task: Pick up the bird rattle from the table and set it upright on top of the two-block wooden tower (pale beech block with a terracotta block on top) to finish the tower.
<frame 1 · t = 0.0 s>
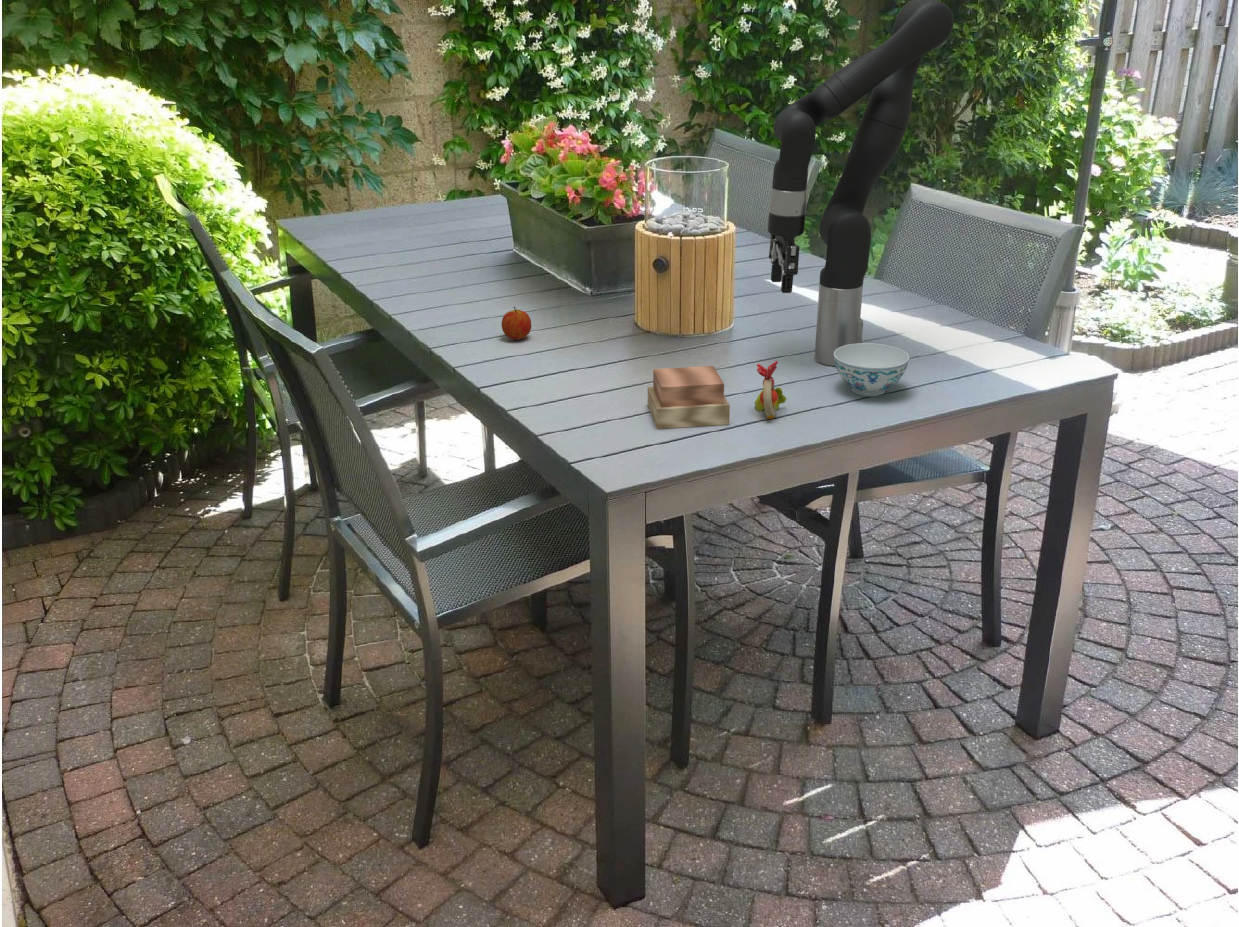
hand: (781, 287, 236), 17 cm above the table, tool pointing down, fingers open, 8 cm apart
fruit: (517, 339, 261), on the table
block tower: (687, 414, 218), on the table
bird rattle: (769, 414, 218), on the table
chinaware: (868, 391, 228), on the table
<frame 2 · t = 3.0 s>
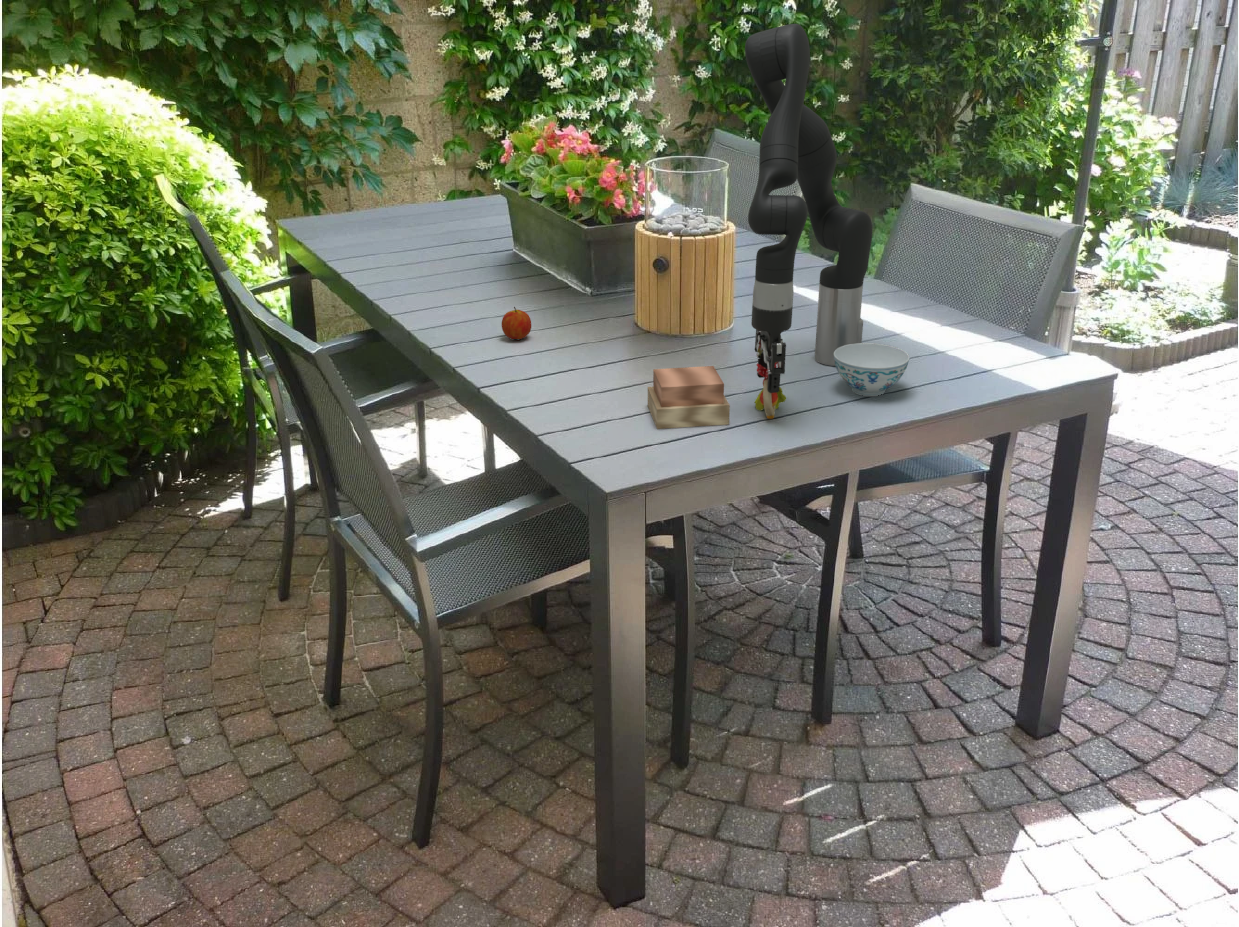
hand: (767, 384, 215), 6 cm above the table, tool pointing down, fingers open, 8 cm apart
bird rattle: (769, 414, 218), on the table, touching gripper
everything else where it was.
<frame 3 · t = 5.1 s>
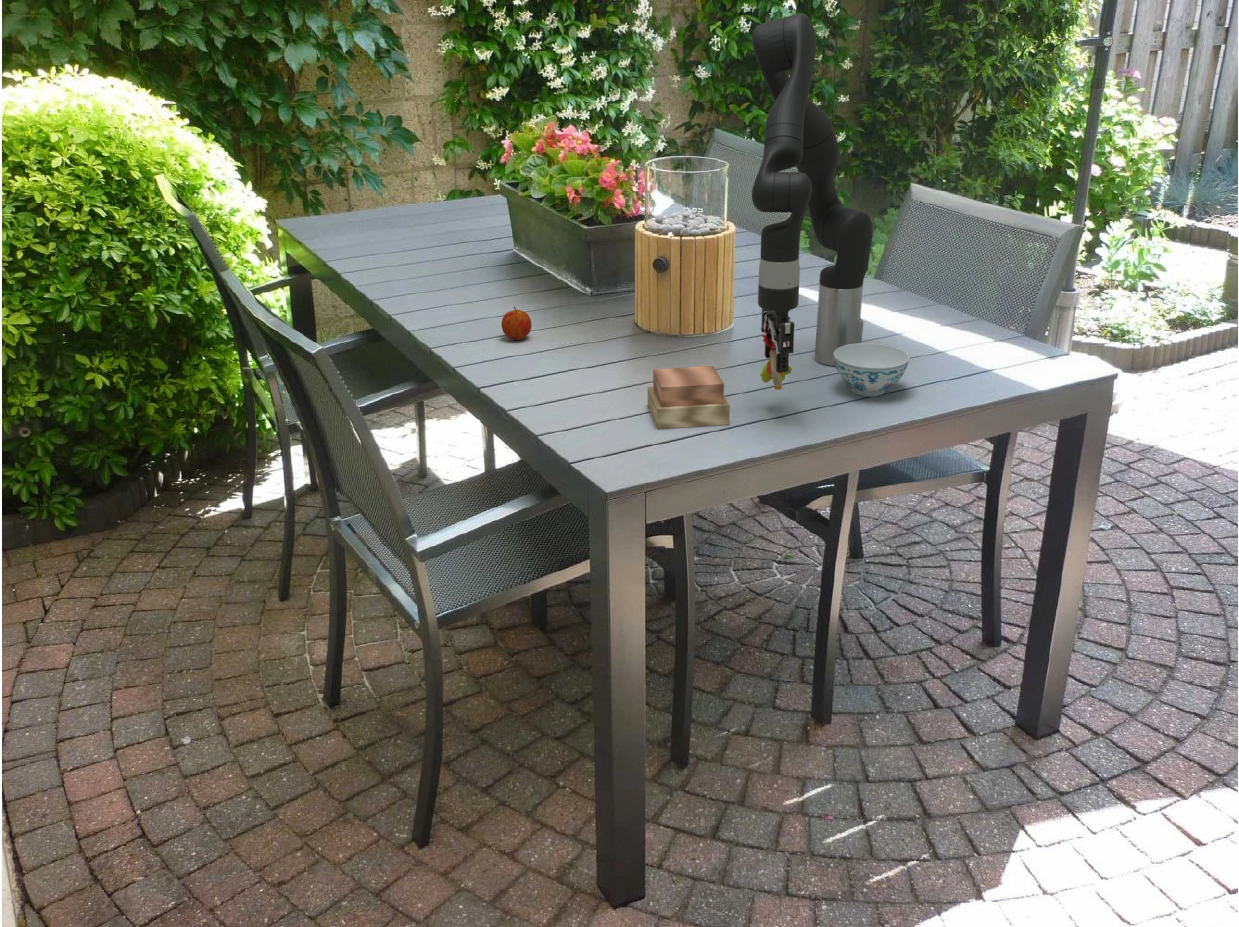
hand: (776, 364, 213), 10 cm above the table, tool pointing down, fingers closed on bird rattle, 7 cm apart
bird rattle: (776, 385, 216), point 6 cm above the table, touching gripper
everything else where it was.
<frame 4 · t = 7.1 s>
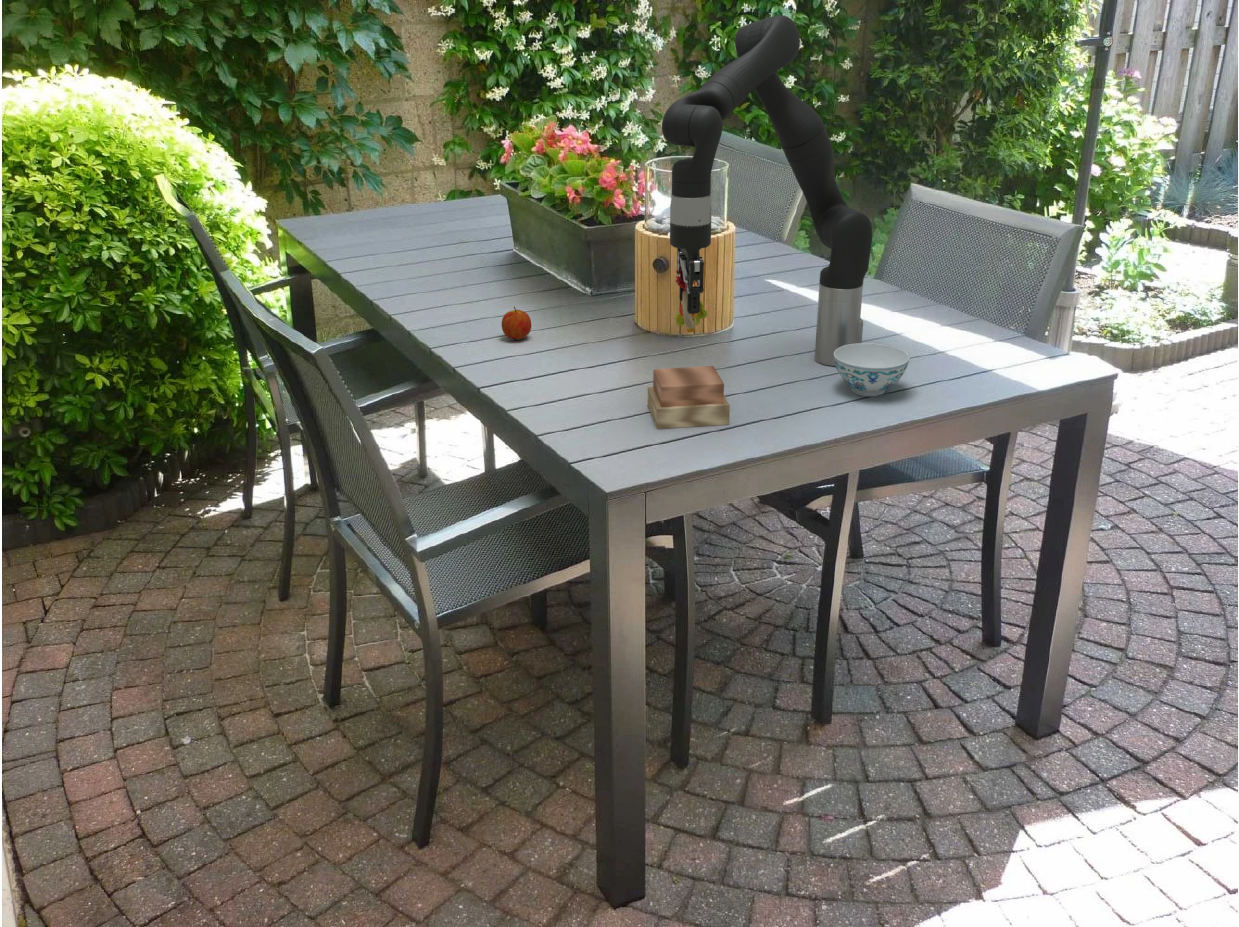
hand: (689, 306, 208), 22 cm above the table, tool pointing down, fingers closed on bird rattle, 7 cm apart
bird rattle: (690, 329, 211), point 17 cm above the table, touching gripper
everything else where it was.
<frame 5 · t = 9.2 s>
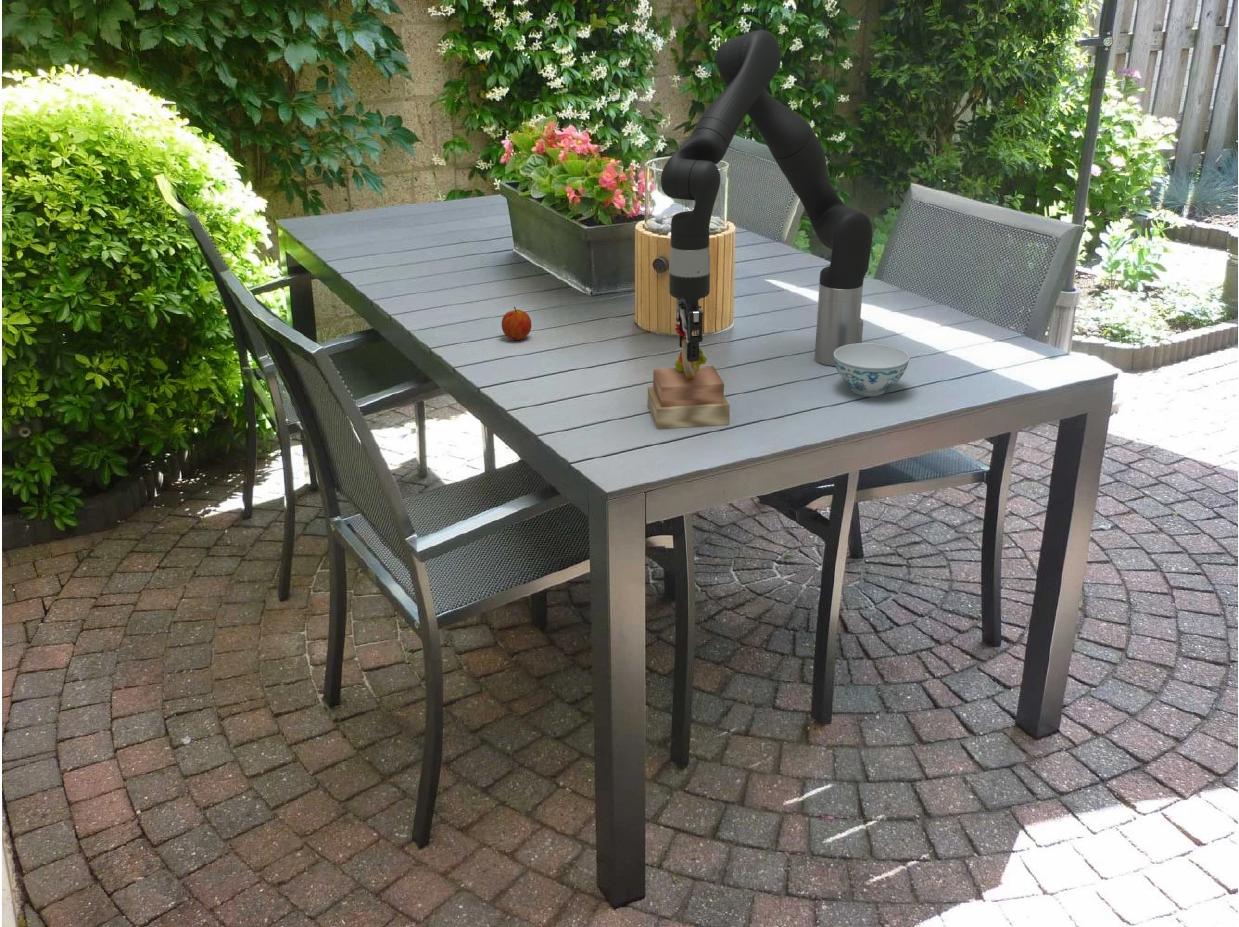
hand: (688, 353, 212), 13 cm above the table, tool pointing down, fingers closed on bird rattle, 7 cm apart
bird rattle: (690, 375, 215), point 8 cm above the table, touching gripper
everything else where it was.
when the fingers open (13 cm above the table, at t = 9.5 s): bird rattle stays where it is, resting on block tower.
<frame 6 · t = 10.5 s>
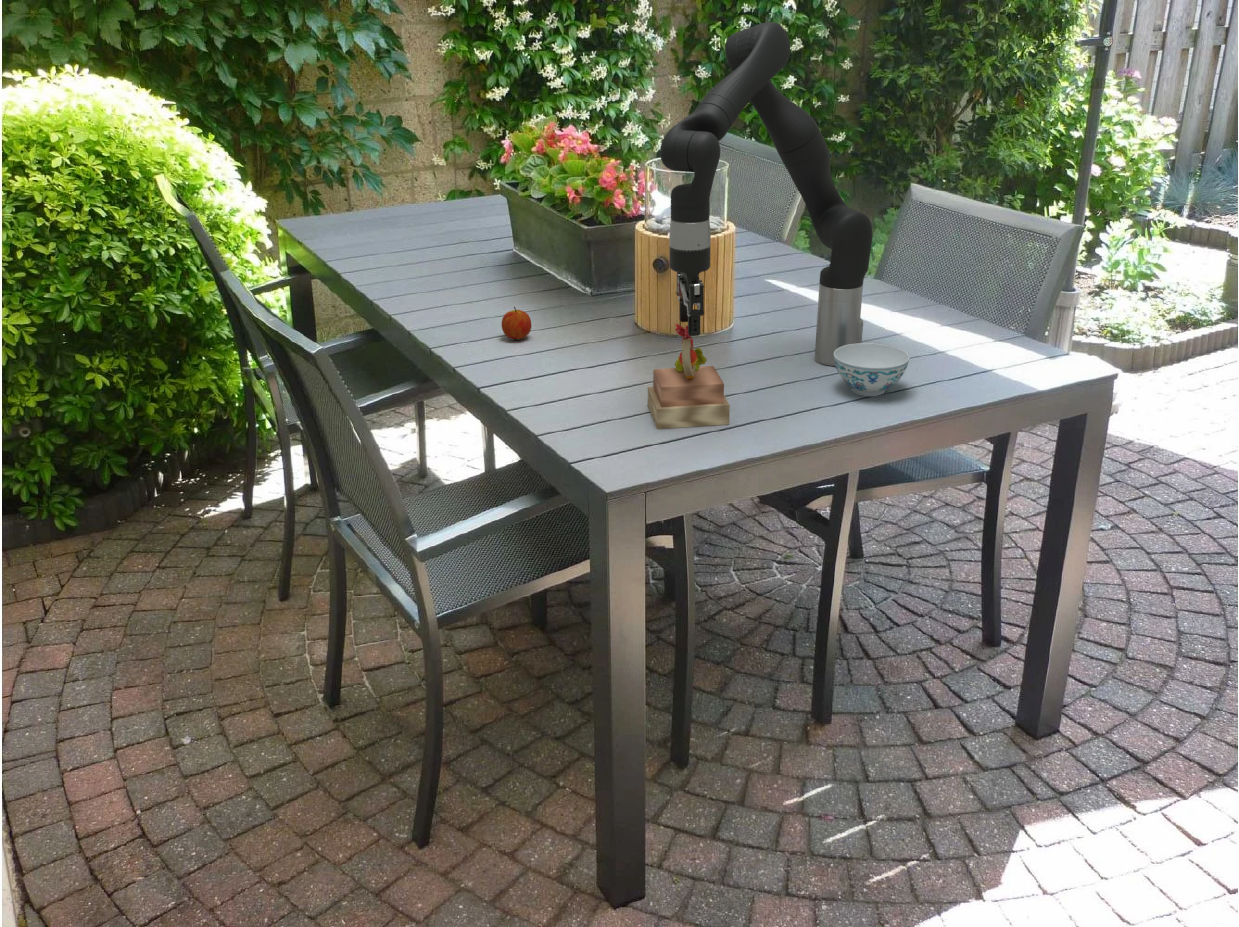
hand: (689, 328, 210), 18 cm above the table, tool pointing down, fingers open, 8 cm apart
bird rattle: (689, 375, 215), point 8 cm above the table, touching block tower
everything else where it was.
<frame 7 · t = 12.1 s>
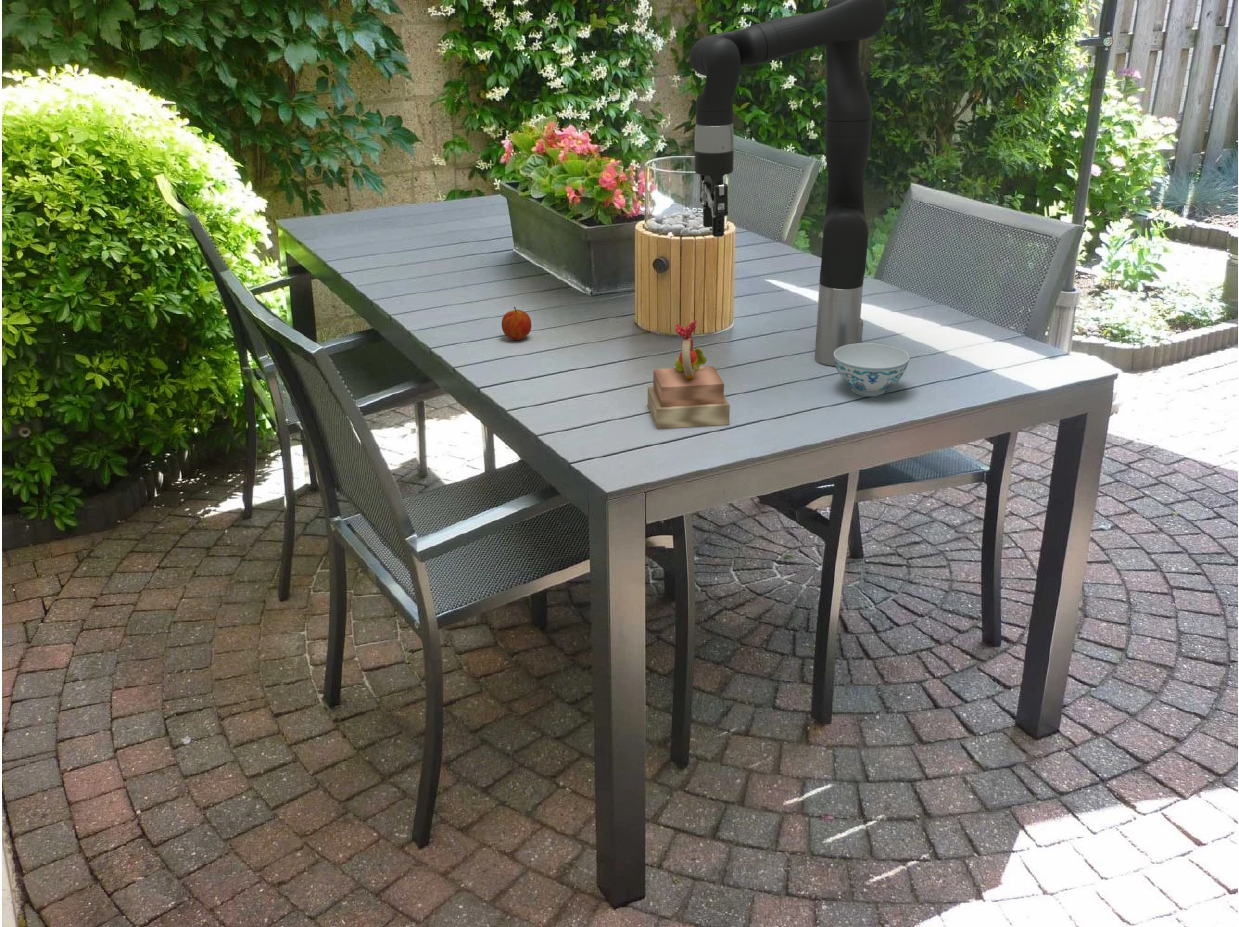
hand: (713, 231, 221), 32 cm above the table, tool pointing down, fingers open, 8 cm apart
nothing on the table moved.
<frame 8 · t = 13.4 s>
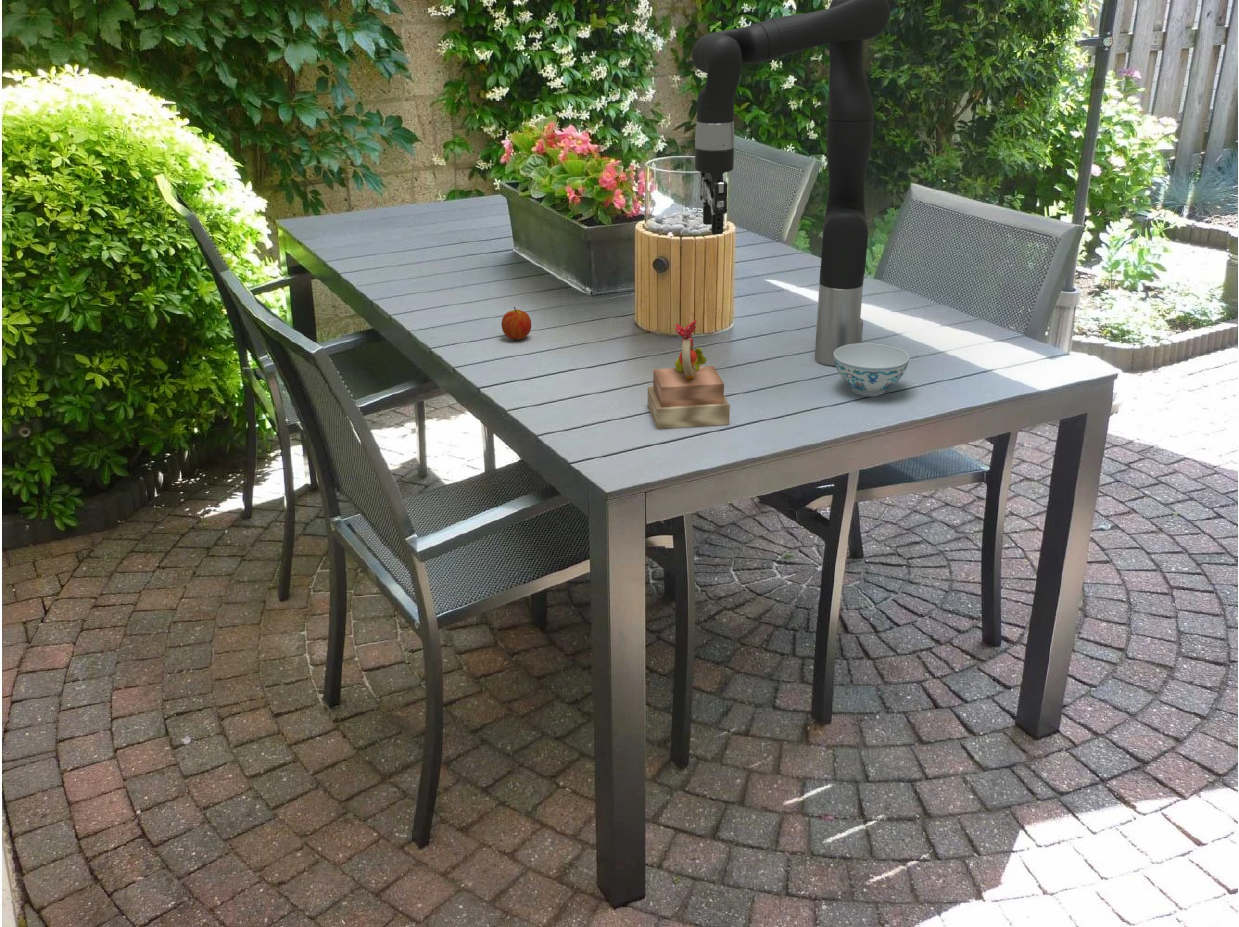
hand: (712, 228, 221), 32 cm above the table, tool pointing down, fingers open, 8 cm apart
nothing on the table moved.
at the end: bird rattle 0.9 cm off-centre on the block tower, point 7.8 cm above the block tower's base; bird rattle tilted 2°; the gripper is holding nothing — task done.
